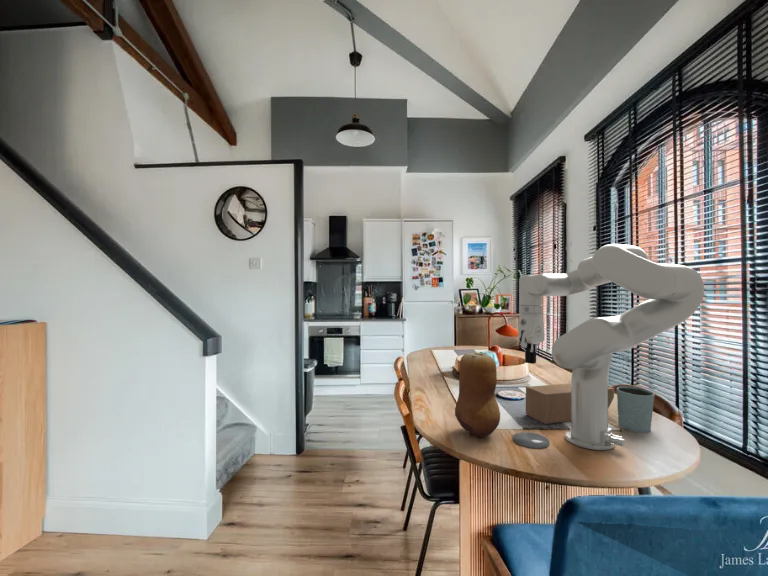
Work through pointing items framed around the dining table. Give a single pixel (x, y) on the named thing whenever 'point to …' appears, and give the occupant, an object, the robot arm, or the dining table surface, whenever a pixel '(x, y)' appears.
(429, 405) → the dining table surface
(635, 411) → the grey-green cup
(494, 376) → the butternut squash
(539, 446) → the grey dome
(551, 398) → the decorative block
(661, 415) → the dining table surface
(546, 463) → the dining table surface
